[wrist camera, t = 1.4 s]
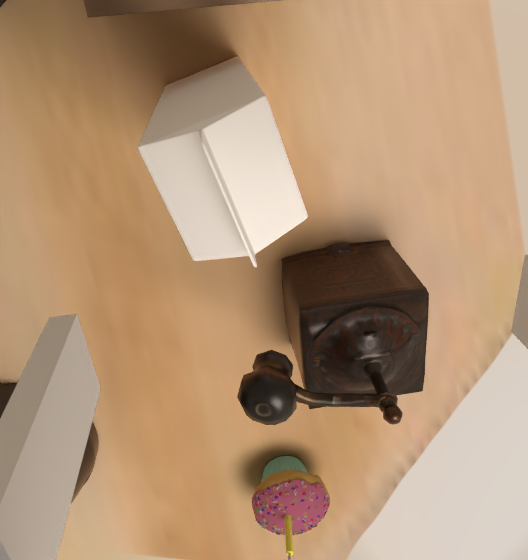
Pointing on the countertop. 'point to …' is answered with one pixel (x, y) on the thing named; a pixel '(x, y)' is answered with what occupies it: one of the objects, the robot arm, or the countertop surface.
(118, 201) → the countertop surface
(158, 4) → the riser
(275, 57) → the countertop surface
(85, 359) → the robot arm
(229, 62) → the milk
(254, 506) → the cupcake
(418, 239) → the countertop surface
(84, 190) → the countertop surface
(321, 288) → the coffee grinder
